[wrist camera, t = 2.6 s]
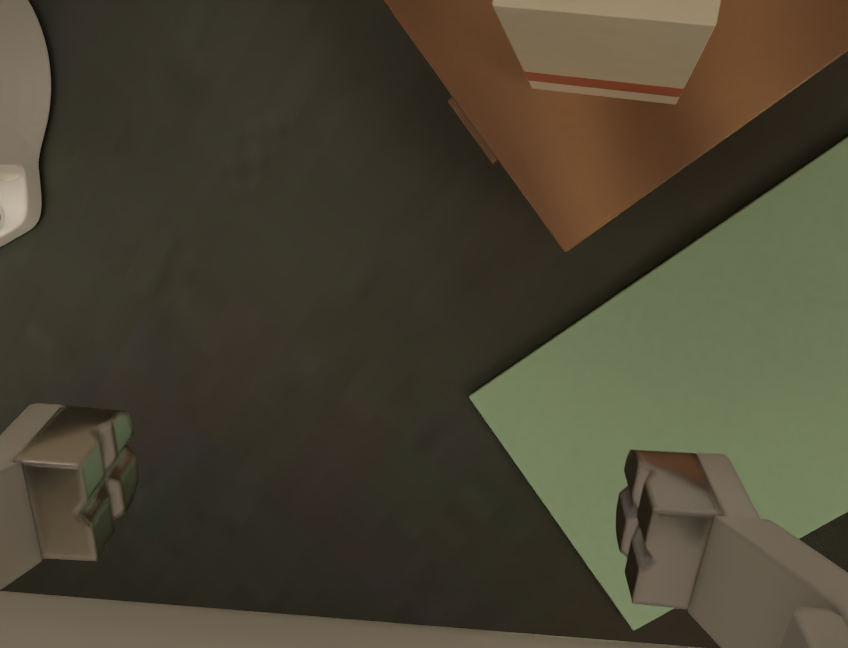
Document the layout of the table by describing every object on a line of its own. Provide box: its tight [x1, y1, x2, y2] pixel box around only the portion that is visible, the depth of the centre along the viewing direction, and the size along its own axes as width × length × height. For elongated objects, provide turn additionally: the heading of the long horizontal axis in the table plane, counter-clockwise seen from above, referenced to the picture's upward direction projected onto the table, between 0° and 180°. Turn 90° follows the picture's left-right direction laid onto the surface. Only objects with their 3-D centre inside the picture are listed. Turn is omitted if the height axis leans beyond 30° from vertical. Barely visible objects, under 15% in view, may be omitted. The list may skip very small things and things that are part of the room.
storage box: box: [383, 0, 848, 252], centre depth 30 cm, size 13×12×7 cm
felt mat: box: [469, 137, 848, 630], centre depth 34 cm, size 20×13×1 cm, turn 126°
